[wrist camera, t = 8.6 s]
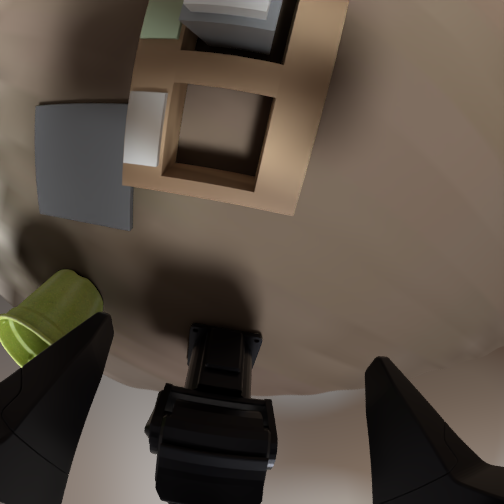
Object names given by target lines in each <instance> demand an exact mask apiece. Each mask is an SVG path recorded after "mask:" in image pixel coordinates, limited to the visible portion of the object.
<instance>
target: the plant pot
mask: <svg viewBox="0 0 504 504" xmlns="http://www.w3.org/2000/svg"><path fill="white" fill-rule="evenodd" d="M102 310H103V301H102V298H101V296H100V294H99V292H98V290H97V289H96V287H95V286H94V285H93V284H92V283H91V282H90V281H89V280H88V279H87V278H83V277H81V276H79V275H77V274H76V273H75V272H74V271H72V270H68V269H64V270H60V271H58V272H56V273H55V274H54V275H53V276H52V277H50V278H49V279H48V280H47V281H46V282H45V283H43V284H42V285H41V286H40V287H39V288H38V289H37V290H35V291H34V292H33V293H32V294H31V295H30V296H29V297H27V298H26V299H25V300H24V301H23V302H22V303H21V304H20V305H18V306H17V307H15V308H12V309H11V310H10V311H9V312H8V313H6V314H0V342H1V344H2V345H3V347H4V348H5V350H6V351H7V352H8V353H9V355H10V356H11V357H12V358H13V359H14V360H15V362H16V363H17V364H18V365H19V366H20V367H21V368H22V367H23V365H25V364H26V363H27V362H29V361H30V360H31V359H33V358H34V357H36V356H37V355H38V354H40V353H41V352H42V351H44V350H45V349H46V348H48V347H49V346H50V345H52V344H53V343H55V342H56V341H57V340H59V339H60V338H61V337H63V336H64V335H66V334H67V333H68V332H70V331H71V330H73V329H74V328H75V327H77V326H78V325H80V324H81V323H83V322H84V321H85V320H87V319H88V318H90V317H91V316H93V315H94V314H95V313H97V312H102Z"/></svg>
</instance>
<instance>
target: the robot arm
mask: <svg viewBox="0 0 504 504" xmlns="http://www.w3.org/2000/svg"><path fill="white" fill-rule="evenodd" d="M195 328H196V329H195ZM113 336H114V330H113V324H112V319H111V316H110V314H107V313H104V312H97V313H95V314H94V315H93V316H91V317H90V318H88V319H87V320H85V321H84V322H83V323H81V324H80V325H78V326H77V327H75V328H74V329H73V330H71V331H70V332H68V333H67V334H66V335H64V336H63V337H61V338H60V339H59V340H57V341H56V342H55V343H53V344H52V345H50V346H49V347H48V348H46V349H45V350H44V351H42V352H41V353H40V354H38V355H37V356H36V357H34V358H33V359H31V360H30V361H29V362H27V363H26V364H25V365H23V367H22V368H20V369H18V370H17V371H15V372H14V373H13V374H11V375H10V376H9V377H7V378H6V379H5V380H3V381H2V382H0V504H61V503H62V499H63V495H64V490H65V487H66V483H67V479H68V474H69V472H70V468H71V464H72V461H73V458H74V455H75V451H76V448H77V445H78V442H79V439H80V436H81V432H82V429H83V427H84V424H85V421H86V418H87V415H88V412H89V410H90V407H91V404H92V401H93V399H94V396H95V393H96V391H97V388H98V386H99V383H100V380H101V378H102V375H103V371H104V368H105V364H106V360H107V357H108V353H109V350H110V346H111V343H112V340H113ZM261 344H262V336H261V335H259V334H254V333H247V332H241V331H235V330H229V329H224V328H218V327H213V326H207V325H202V324H197V323H194V324H192V325H191V327H190V336H189V349H188V363H187V364H188V366H189V368H188V373H187V377H186V382H185V387H184V388H183V387H178V386H174V385H173V384H169V383H166V384H165V387H164V390H162V391H160V392H159V393H158V397H157V401H156V405H155V408H154V410H153V412H152V414H151V416H150V418H149V420H148V422H147V424H146V426H145V433H146V435H147V436H148V438H149V444H150V452H151V453H153V454H157V463H156V473H155V481H156V490H157V493H158V495H159V497H160V499H161V500H162V501H166V502H168V503H169V504H260V503H261V502H262V496H263V486H264V481H265V476H266V471H267V470H270V469H271V468H272V467H273V465H274V462H275V459H276V454H277V431H276V425H275V418H274V413H273V406H272V400H271V399H264V400H261V399H252V398H251V376H252V368H253V365H254V363H255V360H256V357H257V355H258V352H259V349H260V346H261ZM365 395H366V418H367V427H368V436H369V446H370V458H371V474H372V494H373V504H504V467H500V466H494V465H490V464H488V463H486V462H484V461H483V460H482V459H481V458H480V457H478V456H477V455H476V454H475V453H474V452H473V451H472V450H471V449H470V448H469V447H468V446H467V445H466V444H465V443H464V442H463V441H462V440H461V439H460V438H459V437H458V436H457V434H456V433H455V432H454V431H453V430H452V429H451V428H450V427H449V425H448V424H447V423H446V422H444V420H443V419H442V417H440V415H439V414H438V413H437V412H436V410H435V409H434V408H433V407H432V406H431V405H430V404H429V403H428V401H426V399H425V398H424V397H423V396H422V395H421V393H420V392H419V391H418V390H417V389H416V388H415V387H414V386H413V385H412V383H411V382H410V381H409V380H408V379H407V378H406V377H405V376H404V374H403V373H402V372H401V371H400V370H399V369H398V368H397V367H396V366H395V364H394V363H393V362H392V361H391V360H390V359H389V358H388V357H384V356H378V357H376V358H375V359H374V360H373V362H372V363H371V364H370V366H369V367H368V368H367V370H366V372H365Z"/></svg>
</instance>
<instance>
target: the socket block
mask: <svg viewBox="0 0 504 504" xmlns="http://www.w3.org/2000/svg"><path fill="white" fill-rule="evenodd" d="M183 2H184V0H149V3H148V6H147V10H146V14H145V17H144V21H143V25H142V30H141V34H140V38H139V43H138V48H137V53H136V58H135V63H134V69H133V75H132V81H131V87H130V94H129V102H128V110H127V119H126V129H125V140H124V154H123V173H122V185H124V186H131V187H138V188H144V189H151V190H157V191H163V192H169V193H175V194H181V195H187V196H193V197H198V198H204V199H210V200H215V201H220V202H226V203H231V204H236V205H241V206H246V207H251V208H256V209H261V210H266V211H271V212H276V213H281V214H285V215H290V216H293V215H294V212H295V209H296V205H297V202H298V198H299V195H300V191H301V188H302V184H303V181H304V177H305V174H306V170H307V167H308V163H309V159H310V156H311V152H312V149H313V145H314V141H315V138H316V134H317V130H318V126H319V123H320V119H321V115H322V111H323V107H324V104H325V100H326V96H327V92H328V88H329V84H330V80H331V76H332V72H333V68H334V64H335V60H336V56H337V51H338V47H339V43H340V39H341V34H342V30H343V26H344V21H345V17H346V12H347V8H348V3H349V0H297V2H296V6H295V10H294V14H293V18H292V22H291V26H290V30H289V34H288V39H287V43H286V47H285V51H284V55H283V59H282V63H281V64H277V63H272V62H267V61H262V60H257V59H251V58H246V57H239V56H233V55H226V54H218V53H209V52H199V51H195V47H196V42H197V38H198V36H197V35H196V34H195V33H193V32H192V31H191V30H190V29H189V28H187V27H186V26H185V25H184V24H183V23H181V22H180V21H179V16H180V13H181V9H182V5H183ZM188 84H195V85H204V86H212V87H219V88H226V89H232V90H238V91H244V92H249V93H254V94H259V95H264V96H269V97H273V101H272V106H271V110H270V114H269V119H268V123H267V127H266V132H265V136H264V140H263V145H262V149H261V154H260V158H259V162H258V167H257V171H256V176H250V175H245V174H240V173H235V172H229V171H224V170H218V169H213V168H207V167H201V166H195V165H188V164H182V163H176V156H177V148H178V141H179V134H180V127H181V121H182V114H183V108H184V102H185V96H186V91H187V86H188Z"/></svg>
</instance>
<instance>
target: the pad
mask: <svg viewBox="0 0 504 504" xmlns="http://www.w3.org/2000/svg"><path fill="white" fill-rule="evenodd" d="M127 110H128V104H121V103H69V104H49V105H39V106H36V112H35V166H36V182H37V193H38V203H39V211H40V214H44V215H49V216H54V217H59V218H65V219H70V220H75V221H80V222H85V223H90V224H96V225H101V226H106V227H111V228H116V229H121V230H127V231H131V229H132V228H133V187H131V186H124V185H122V173H123V154H124V140H125V129H126V119H127Z"/></svg>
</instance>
